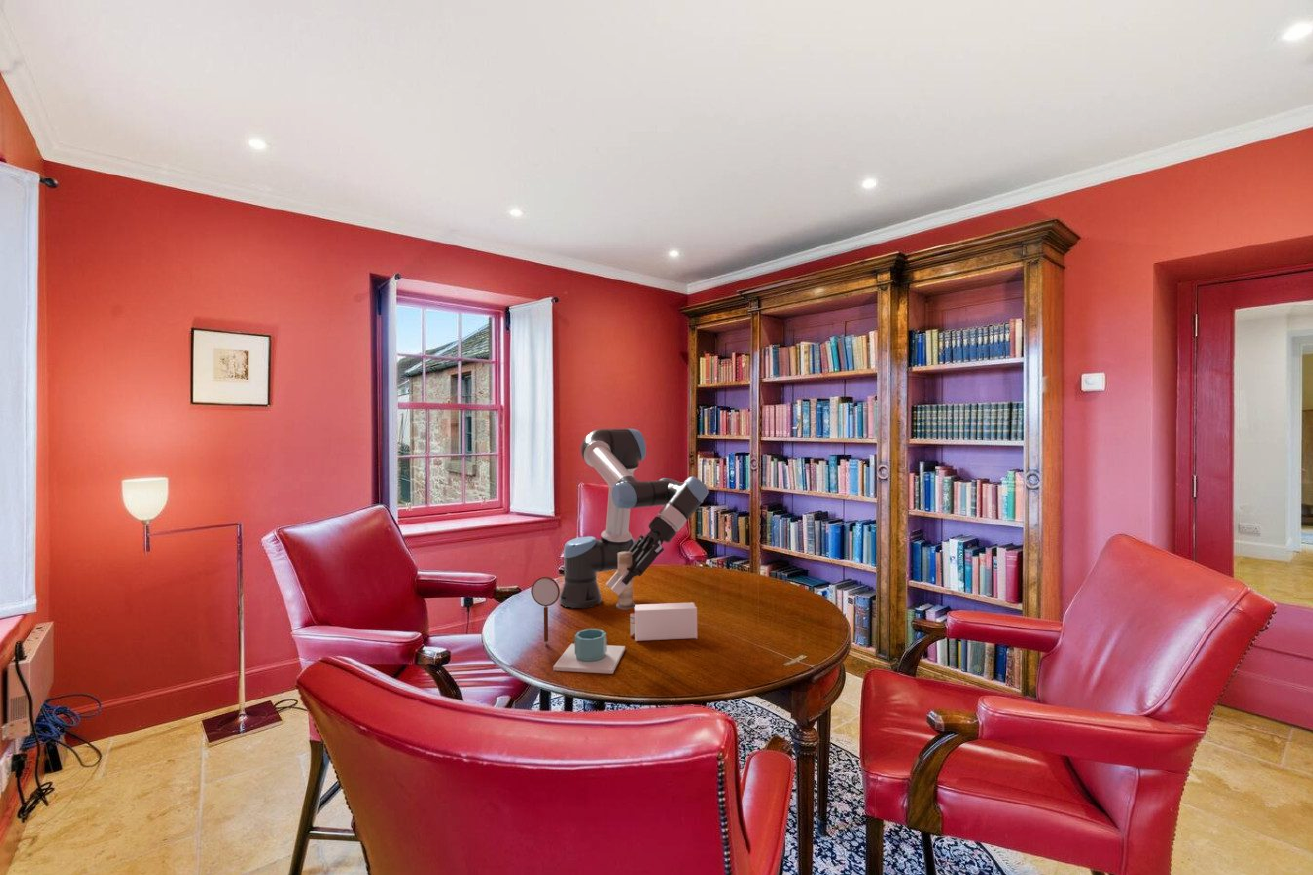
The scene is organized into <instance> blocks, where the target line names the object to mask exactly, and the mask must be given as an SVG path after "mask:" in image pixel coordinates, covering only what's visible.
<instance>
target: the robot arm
mask: <svg viewBox="0 0 1313 875" xmlns="http://www.w3.org/2000/svg"><path fill="white" fill-rule="evenodd" d="M646 445H647V443H646V440H645V438H644V435H643V434H642V432H641V431H640V430H638V429H635V428H627V427H626V428H598V429H595V430H592V431H591V432H589V433H588V434H586V436H585V437H584V439H583V440H582V442H581V445H580V455H581V458H582V460H584V462H585V464H587V465H588V466H590V467H591V468H594V469H595V470H596V472H597V473H598V474H599V475H600V476H601V478H602V479H603V480H604V481H605V483H606V484H607V485H608V494H607V510H606V522H605V529H604V530H603V531H602V532H601V534H600V539H597V538H596V537H595V536H591V535H589V536H579V537H575V538H573V539H570V540H568V541H566V543H565V544H564V551H563V552H564V553H563V557H564V561H563V562H564V564H563V566H564V584H563V586H562V590H561V592H560V595H559V604H562V605H563V606H566V607H571V608H570V609H573V608H582V609H586V608H585V607H590V608H592V607H591V606H594V607H596V606H595V605H597V604H599V605H601V603H602V601H603V600H602V593H601V590H600V588H599V585H598V581H597V575H598V574H597V573H601V572H608V571H610V572H611V571H615V573H614V574H613V575H612V576H611V577H610V578H609V579H608V580H607V582H606V583H605V585H606V586H607V587H608V588H609V589H610V590H611V591H613V592H614V593H615V594H616V595H617V596H619V595H620V593H621V592H622V591H623V590H624V589H625V587H626V586H627V585H628V584H629V583H630V581H631V580H632V579H633V580H634V578H635V577H637V576H638V577H640V576H642V575H643V574H644V572H645V571H647V569H648V568H649V566H650V565H651V564H652V563H653V562H654V561H655V560H656V558H658V556H659V555H660V554H661V553H663V551H665V548H664V547H663V546H662V545H663V543H664V542H665V543H670V542H671V540H672V539H673V538H674V537H675V536H676V535H677V532H679V531H680V529H681V528H684V526H685V524H686V523H687V521H688V520H689V519H690V518H691V516H692V515H693V514H694V513H695V512H696V511H697V509H698V508H699V507H700V506H701V504H703V503H704V500H705V499H706V498H707V497H708V495H709V494H710V490H709V488H708V486H707V485H706V484H705V483H704V482H702V480H701V479H699V478H697V477H695V476H691V475H690V476H689V477H687V478H686V479H685V480H684V481H683V482H681V481H678V480H675V479H673V478H670V477H669V478H666V477H663V478H660V479H659V480H646V481H639V480H638V479H637V478H636V477H635V476H634V474H635V470H636V469H638V468H639V465H640V463H639V462H642V461H644V459H645V458H646V456H647V446H646ZM660 506H661V507H662V508H661V509H660V511H658V513H657V516H654V518H653V519H652V520H651V522H649V523H648V528H649V529H650V530H649V532H647V534H645V536H643V535H642V534H641V535H639V536H638V538H637V539H635V538H633V534H632V533H631V532H630V531H629V527H630V519H631V518H630V517H631V509H634V508H636V509H637V508H648V507H660ZM619 552H632V566H631V567H630V568H629V567H627V570H626V571H625V572H624V574H623V575H622V576H621V577H620V578H619V580H618V553H619ZM629 571H630V572H629ZM563 606H562V607H563ZM597 606H598V605H597ZM566 607H565V608H566Z"/></svg>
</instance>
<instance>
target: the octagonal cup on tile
mask: <svg viewBox="0 0 1313 875" xmlns="http://www.w3.org/2000/svg"><path fill="white" fill-rule="evenodd" d="M573 636H574V637H573V638H574V643H572V642H571V643H570V645H569V646H568V647H567V648H566V650H565V651H564V652H563V653H562V655H561V656H560V657H559V659H558V660H557V661H556V662H555V664H554V665H553V667H552V670H553V671H561V672H573V673H574V672H575V673H576V672H577V673H594V674H595V673H596V674H611V675H613V674H614V672H615V671H616V669H617V666H618V664H619V662H620V660H621V658H622V657H623V655H624V653H625V651H626V645H610V644H609V645H608V644H607V632H606V631H604V630H602V629H601V628H586V629H582V630H578V631H577V632H576V633H575V635H573Z"/></svg>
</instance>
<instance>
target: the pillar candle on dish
mask: <svg viewBox="0 0 1313 875" xmlns="http://www.w3.org/2000/svg"><path fill="white" fill-rule="evenodd" d="M631 566H632V552H619V553H618V580H619V578H620V577H621V576H622V575H623V574H624V572H625V571H626V570H627V567H629V568H630V567H631ZM629 572H630V571H629ZM633 582H634V578H633V579H632V580H631V581H630V583H629V584H628V585H627V586H626V587H625V589H624V590H623V591H622V592H621V593H620V595H619V596H618V595H617V596H618V598H617V599H618V602H617V603H616V604H615V606H616V608H617V609H619V610H632V609H635V608H634V607H635V605H636V603H635V602H634V593H633V592H634V586H633V585H634V583H633Z"/></svg>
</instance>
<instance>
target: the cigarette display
mask: <svg viewBox="0 0 1313 875" xmlns="http://www.w3.org/2000/svg"><path fill="white" fill-rule="evenodd" d="M633 609H634V612H631V613H630V614H629V617H630V618H629V620H630V621H629V625H630V629H629V630H630V637H632V638H633V637H634V641H635V642H638V641H660V640H661V641H662V640H681V639H683V640H685V639H696V640H697V639H698V607H697V606H696V604H695V602H669V603H666V602H664V603H644V604H635V607H634V608H633Z"/></svg>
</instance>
